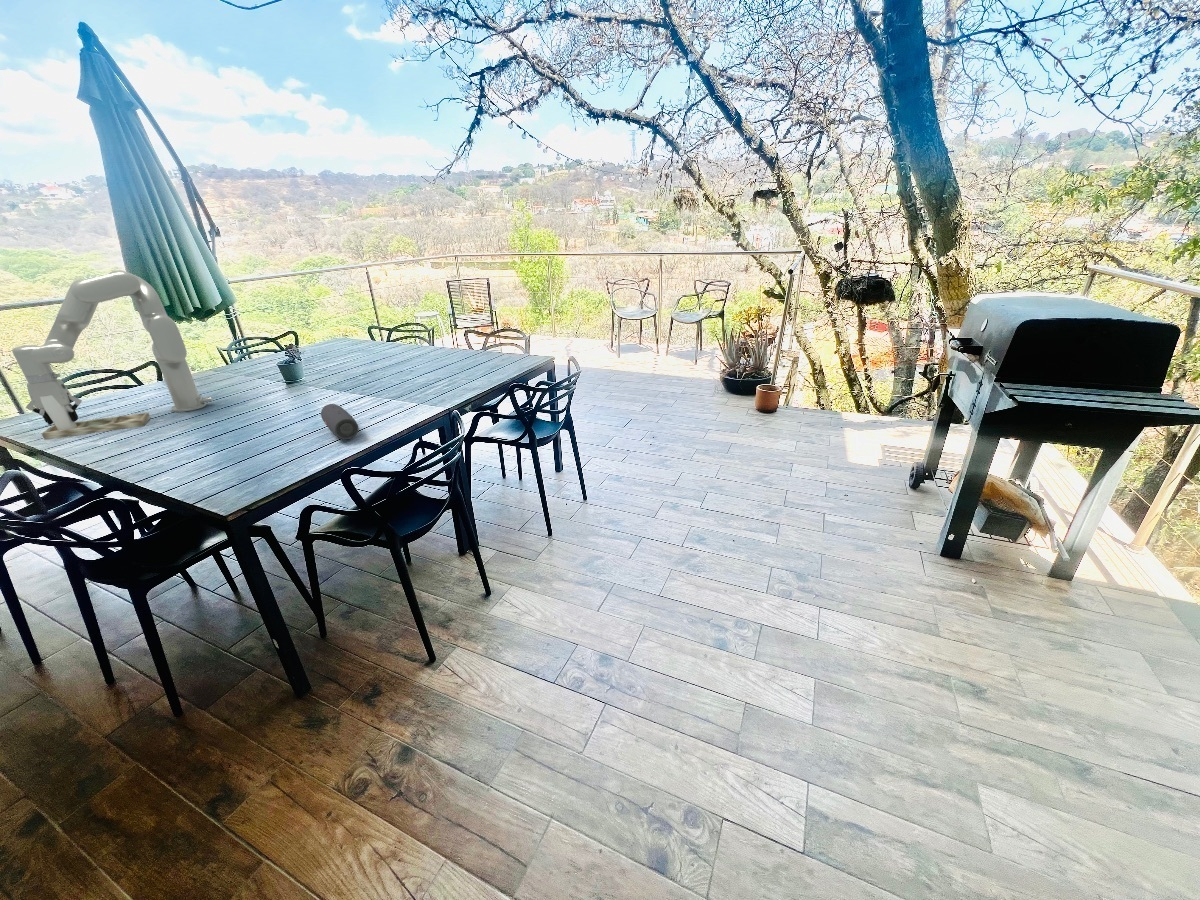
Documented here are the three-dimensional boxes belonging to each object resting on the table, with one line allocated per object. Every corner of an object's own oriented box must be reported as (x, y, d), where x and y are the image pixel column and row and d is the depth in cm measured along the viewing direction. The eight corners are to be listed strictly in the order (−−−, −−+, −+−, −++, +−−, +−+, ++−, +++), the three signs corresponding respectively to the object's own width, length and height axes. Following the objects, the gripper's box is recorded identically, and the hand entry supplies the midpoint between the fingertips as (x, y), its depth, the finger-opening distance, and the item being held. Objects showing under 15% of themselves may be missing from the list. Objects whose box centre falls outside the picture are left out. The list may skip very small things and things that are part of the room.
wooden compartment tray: (150, 418, 207) (148, 412, 206) (143, 425, 198) (141, 420, 197) (56, 430, 194) (53, 424, 193) (44, 439, 185) (41, 433, 184)
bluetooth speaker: (322, 428, 195) (316, 405, 191) (346, 422, 200) (341, 400, 196) (336, 445, 179) (330, 420, 175) (362, 439, 185) (357, 414, 180)
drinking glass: (64, 433, 188) (44, 397, 182) (51, 432, 189) (31, 396, 183) (84, 427, 194) (66, 391, 188) (72, 426, 195) (53, 391, 189)
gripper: (76, 373, 189) (96, 415, 197) (14, 379, 182) (37, 423, 189) (68, 377, 183) (89, 421, 191) (4, 384, 176) (28, 429, 183)
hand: (63, 421), depth 190 cm, fingers closed on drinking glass, 6 cm apart
